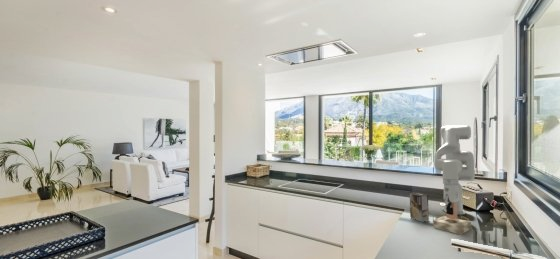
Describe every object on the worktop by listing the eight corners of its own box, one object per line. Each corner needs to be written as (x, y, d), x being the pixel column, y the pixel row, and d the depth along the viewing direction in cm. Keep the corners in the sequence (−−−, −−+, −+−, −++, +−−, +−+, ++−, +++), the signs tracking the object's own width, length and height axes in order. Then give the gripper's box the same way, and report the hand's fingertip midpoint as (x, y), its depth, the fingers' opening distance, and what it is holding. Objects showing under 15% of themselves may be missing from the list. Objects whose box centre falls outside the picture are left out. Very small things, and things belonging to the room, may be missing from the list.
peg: (446, 217, 147) (445, 198, 147) (449, 216, 149) (449, 197, 150) (454, 219, 144) (453, 200, 144) (457, 218, 146) (456, 199, 146)
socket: (433, 227, 149) (433, 220, 149) (444, 222, 157) (444, 215, 157) (460, 234, 137) (460, 227, 137) (471, 228, 145) (471, 221, 145)
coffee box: (429, 220, 159) (428, 195, 160) (422, 222, 157) (421, 196, 157) (416, 216, 168) (415, 192, 168) (409, 218, 165) (409, 193, 165)
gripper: (451, 184, 139) (452, 217, 139) (464, 181, 149) (465, 212, 148) (436, 182, 146) (437, 214, 145) (449, 179, 155) (450, 209, 155)
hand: (451, 213), depth 147 cm, fingers closed on peg, 4 cm apart
